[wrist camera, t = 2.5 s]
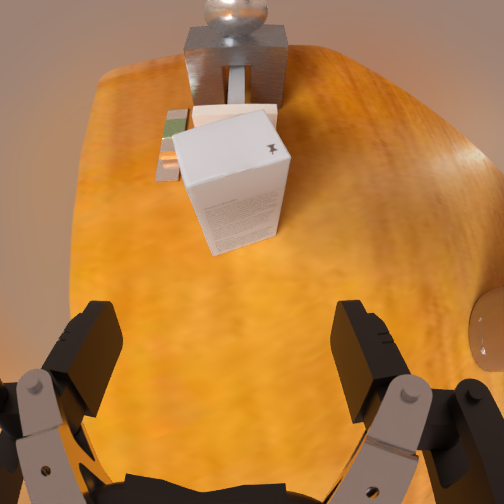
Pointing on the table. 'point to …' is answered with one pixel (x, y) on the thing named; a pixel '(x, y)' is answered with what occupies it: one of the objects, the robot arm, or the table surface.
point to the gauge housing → (228, 64)
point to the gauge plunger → (228, 106)
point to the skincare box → (234, 178)
